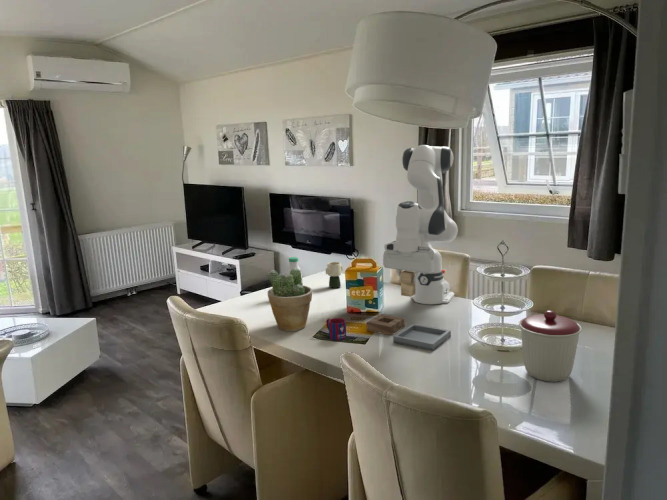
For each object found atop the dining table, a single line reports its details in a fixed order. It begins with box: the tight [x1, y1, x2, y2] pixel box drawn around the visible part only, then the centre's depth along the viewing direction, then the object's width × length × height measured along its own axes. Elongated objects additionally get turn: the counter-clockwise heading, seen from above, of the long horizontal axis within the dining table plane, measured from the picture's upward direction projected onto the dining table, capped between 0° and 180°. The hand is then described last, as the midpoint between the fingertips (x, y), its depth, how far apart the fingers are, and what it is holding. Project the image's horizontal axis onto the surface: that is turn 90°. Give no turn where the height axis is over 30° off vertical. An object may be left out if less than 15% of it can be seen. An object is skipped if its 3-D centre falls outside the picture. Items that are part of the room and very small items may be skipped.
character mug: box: [325, 261, 344, 288], centre depth 274 cm, size 11×7×13 cm, turn 128°
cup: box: [325, 317, 347, 341], centre depth 205 cm, size 7×10×7 cm
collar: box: [366, 313, 406, 336], centre depth 211 cm, size 11×11×4 cm
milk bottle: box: [286, 256, 303, 284], centre depth 258 cm, size 8×8×20 cm
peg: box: [400, 270, 416, 298], centre depth 198 cm, size 4×4×9 cm
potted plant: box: [266, 268, 313, 332], centre depth 216 cm, size 18×19×25 cm
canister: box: [518, 309, 583, 383], centre depth 163 cm, size 18×18×21 cm
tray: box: [392, 323, 452, 352], centre depth 198 cm, size 16×16×2 cm
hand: (408, 281), depth 198 cm, fingers closed on peg, 4 cm apart
